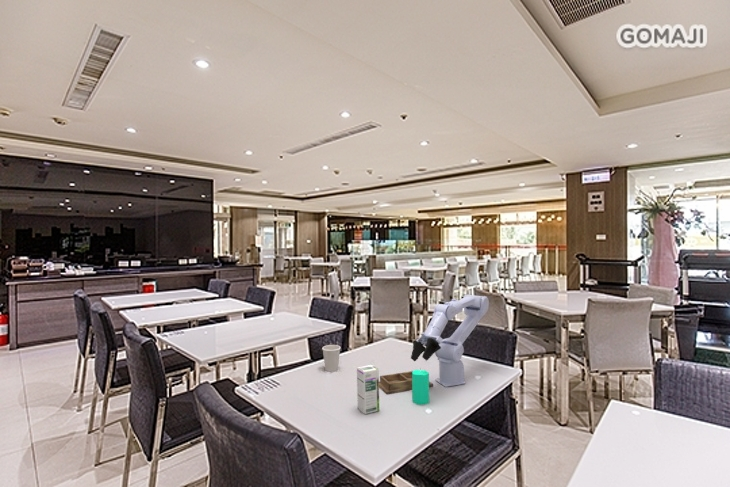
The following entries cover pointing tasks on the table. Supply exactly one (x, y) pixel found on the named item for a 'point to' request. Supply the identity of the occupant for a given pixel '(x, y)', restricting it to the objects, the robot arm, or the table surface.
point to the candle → (420, 387)
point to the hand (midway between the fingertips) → (418, 359)
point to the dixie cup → (331, 357)
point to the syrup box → (368, 389)
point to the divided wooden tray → (397, 382)
